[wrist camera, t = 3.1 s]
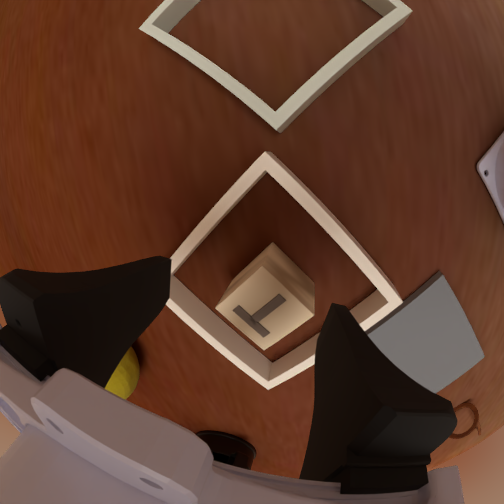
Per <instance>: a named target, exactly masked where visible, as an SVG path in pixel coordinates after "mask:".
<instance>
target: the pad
mask: <svg viewBox="0 0 504 504" xmlns="http://www.w3.org/2000/svg"><path fill="white" fill-rule="evenodd" d="M365 333H366V334H367V335H368V336H369V338H370V339H371V340H372V341H373V343H374V344H375V345H376V346H377V347H378V348H379V350H380V351H381V352H382V353H383V354H384V355H385V356H386V357H387V358H388V359H389V360H390V361H391V362H392V363H393V364H395V365H396V366H397V367H398V368H399V369H400V370H402V371H403V372H404V373H405V374H407V375H408V376H409V377H410V378H412V379H413V380H414V381H416V382H417V383H419V384H420V385H422V386H423V387H425V388H427V389H428V390H430V391H431V392H433V393H437V392H438V391H440V390H441V389H443V388H444V387H446V386H447V385H449V384H450V383H452V382H453V381H454V380H456V379H457V378H458V377H460V376H461V375H462V374H464V373H465V372H466V371H468V370H469V369H470V368H472V367H473V366H474V365H475V364H477V363H478V362H479V361H480V360H481V359H483V358H484V357H485V356H484V354H483V351H482V349H481V347H480V344H479V342H478V340H477V338H476V336H475V333H474V331H473V329H472V327H471V325H470V323H469V321H468V319H467V317H466V315H465V313H464V311H463V309H462V307H461V306H460V304H459V302H458V300H457V298H456V296H455V295H454V293H453V291H452V289H451V288H450V286H449V284H448V282H447V281H446V279H445V277H444V276H443V274H442V273H441V272H440V271H438V272H437V273H436V274H435V275H434V276H433V277H431V278H430V279H429V280H428V281H427V282H426V283H425V284H423V285H422V286H421V287H420V288H419V289H418V290H416V291H415V292H414V293H413V294H412V295H410V296H409V297H408V298H407V299H405V300H404V301H403V303H402V304H400V305H399V306H398V307H397V308H395V309H394V310H393V311H392V312H390V313H389V314H388V315H386V316H385V317H384V318H382V319H381V320H380V321H378V322H377V323H376V324H374V325H373V326H371V327H370V328H369V329H367V330H366V331H365Z"/></svg>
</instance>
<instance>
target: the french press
mask: <svg viewBox="0 0 504 504" xmlns="http://www.w3.org/2000/svg"><path fill="white" fill-rule="evenodd" d="M195 435H197V436H198V437H199V438H200V439H202V440H203V441H204V442H205V443H207V445H208V446H209V448H210V450H211V451H212V452H217V453H220V454H224V455H227V456H229V458H226V457H222V456H219V455H216V454H214V453H212V452H211V453H212V455H213V457H214V459H213V460H214V461H217V462H221V463H224V464H228V465H231V466H235V467H239V468H243V469H247V470H251V466H252V462H253V459H254V458H255V457H256V450H255V448H254V447H253V446H252V445H251V444H250V443H248V442H247V441H245V440H243V439H241V438H239V437H236V436H234V435H231V434H227V433H223V432H218V431H201V432H198V433H197V434H195Z"/></svg>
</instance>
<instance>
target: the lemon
mask: <svg viewBox="0 0 504 504" xmlns="http://www.w3.org/2000/svg"><path fill="white" fill-rule="evenodd" d="M139 371H140V367H139V363H138V358H137V356H136V353H135V351H134V350H133V348H132V347H130V348H129V349H128V351H127V352H126V354H125V355H124V357H123V358H122V360H121V361H120V363H119V364H118V366H117V368H116V369H115V371H114V373H113V374H112V376H111V378H110V379H109V381H108V383H107V385H106V387H105V389H106V390H108V391H110V392H112V393H113V394H115V395H117V396H119V397H121V398H123V399H125V400H126V399H127V398H128V397H129V396H130V394H131V393H132V392H133V391H134V389H135V388H136V385H137V383H138V380H139Z"/></svg>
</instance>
